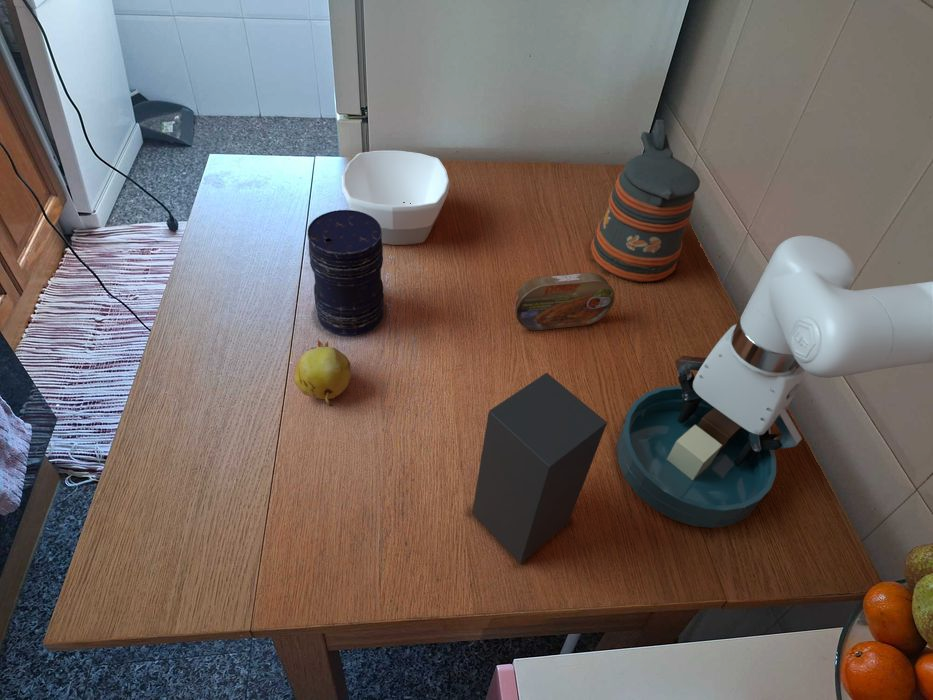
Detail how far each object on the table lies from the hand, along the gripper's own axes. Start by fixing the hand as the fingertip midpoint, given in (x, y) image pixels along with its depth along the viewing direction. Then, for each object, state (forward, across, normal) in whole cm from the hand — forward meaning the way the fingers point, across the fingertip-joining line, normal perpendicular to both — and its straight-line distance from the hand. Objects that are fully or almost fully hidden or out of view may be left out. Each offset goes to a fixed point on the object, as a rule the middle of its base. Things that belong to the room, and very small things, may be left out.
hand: (713, 437), depth 83 cm
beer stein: (+1, +33, -25) cm, 41 cm away
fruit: (+1, +38, +34) cm, 51 cm away
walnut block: (+1, 0, -1) cm, 1 cm away
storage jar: (+1, +48, +22) cm, 53 cm away
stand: (+1, +8, +27) cm, 28 cm away
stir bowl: (+1, 0, +5) cm, 5 cm away
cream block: (+1, 0, +5) cm, 5 cm away
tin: (+1, +28, -1) cm, 28 cm away
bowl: (+1, +62, +3) cm, 62 cm away
